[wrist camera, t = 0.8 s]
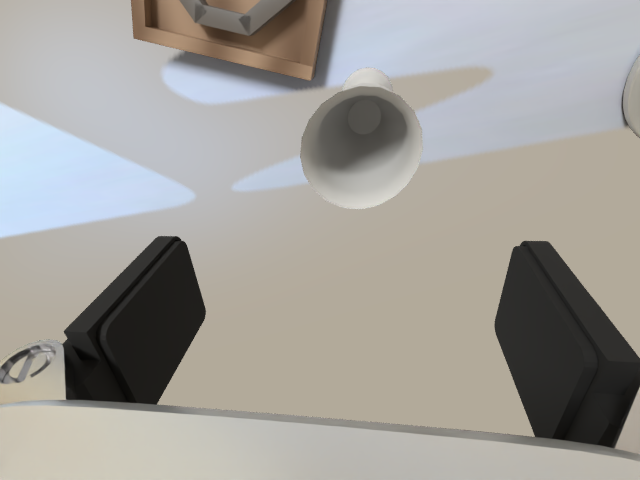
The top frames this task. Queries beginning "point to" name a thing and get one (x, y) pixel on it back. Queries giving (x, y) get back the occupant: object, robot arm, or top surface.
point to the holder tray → (237, 30)
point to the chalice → (362, 143)
